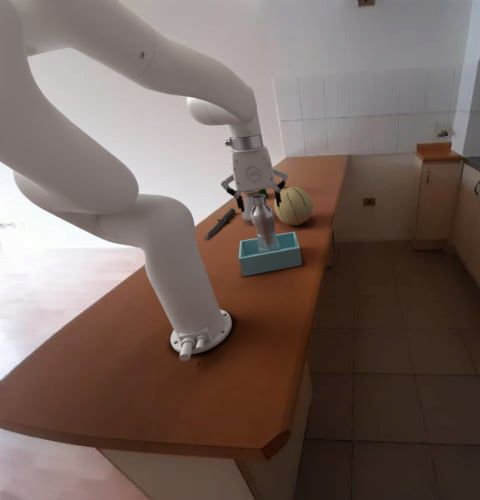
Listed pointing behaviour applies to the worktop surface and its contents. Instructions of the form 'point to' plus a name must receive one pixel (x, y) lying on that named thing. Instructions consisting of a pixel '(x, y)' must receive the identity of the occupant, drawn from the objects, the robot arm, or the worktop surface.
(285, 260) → the bin
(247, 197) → the coffee pot
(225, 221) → the knife
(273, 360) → the worktop surface
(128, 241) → the robot arm
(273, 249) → the silver metal bottle
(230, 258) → the worktop surface
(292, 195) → the cantaloupe
